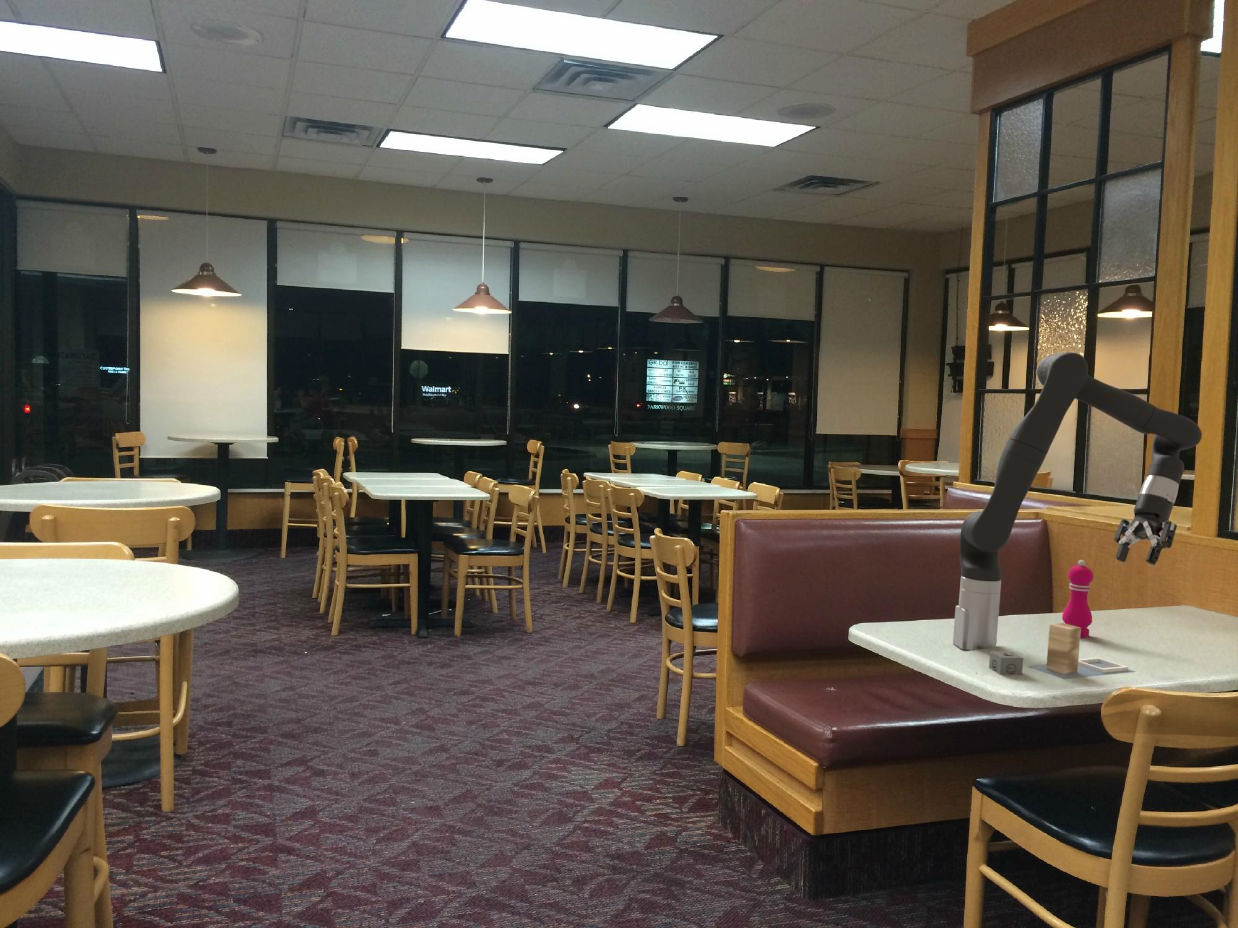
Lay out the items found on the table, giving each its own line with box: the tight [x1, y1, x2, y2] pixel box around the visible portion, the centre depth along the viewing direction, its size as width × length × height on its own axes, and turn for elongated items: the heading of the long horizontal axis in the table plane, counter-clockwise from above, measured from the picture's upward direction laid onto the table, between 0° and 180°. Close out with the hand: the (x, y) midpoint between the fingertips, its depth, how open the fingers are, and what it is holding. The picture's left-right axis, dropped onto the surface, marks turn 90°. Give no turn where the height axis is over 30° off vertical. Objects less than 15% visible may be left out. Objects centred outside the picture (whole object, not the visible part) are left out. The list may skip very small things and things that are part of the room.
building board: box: [1027, 657, 1136, 680], centre depth 215 cm, size 22×10×2 cm, turn 114°
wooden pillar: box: [1046, 622, 1081, 674], centre depth 212 cm, size 4×4×10 cm
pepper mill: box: [1061, 559, 1094, 638], centre depth 253 cm, size 7×7×20 cm
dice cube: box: [988, 650, 1024, 676], centre depth 209 cm, size 5×5×5 cm
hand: (1135, 562), depth 224 cm, fingers open, 8 cm apart
